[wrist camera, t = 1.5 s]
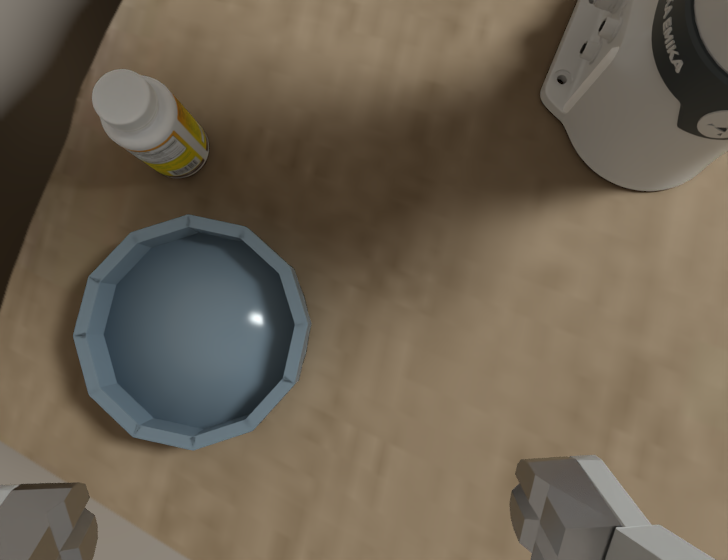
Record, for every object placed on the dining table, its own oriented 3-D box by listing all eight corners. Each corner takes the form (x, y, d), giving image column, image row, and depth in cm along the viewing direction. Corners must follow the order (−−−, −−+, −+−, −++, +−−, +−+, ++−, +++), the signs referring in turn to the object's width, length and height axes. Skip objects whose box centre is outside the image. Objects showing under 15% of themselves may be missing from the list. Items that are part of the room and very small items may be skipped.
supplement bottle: (165, 110, 42) (101, 43, 31) (221, 134, 42) (175, 74, 31) (138, 166, 41) (65, 116, 31) (195, 190, 41) (139, 148, 31)
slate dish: (131, 207, 41) (109, 197, 37) (329, 249, 41) (325, 243, 37) (78, 410, 40) (50, 419, 36) (283, 455, 39) (275, 468, 36)
